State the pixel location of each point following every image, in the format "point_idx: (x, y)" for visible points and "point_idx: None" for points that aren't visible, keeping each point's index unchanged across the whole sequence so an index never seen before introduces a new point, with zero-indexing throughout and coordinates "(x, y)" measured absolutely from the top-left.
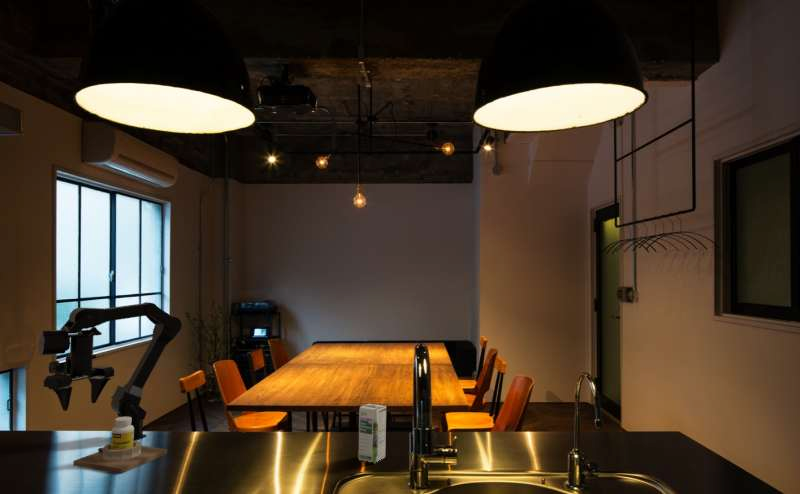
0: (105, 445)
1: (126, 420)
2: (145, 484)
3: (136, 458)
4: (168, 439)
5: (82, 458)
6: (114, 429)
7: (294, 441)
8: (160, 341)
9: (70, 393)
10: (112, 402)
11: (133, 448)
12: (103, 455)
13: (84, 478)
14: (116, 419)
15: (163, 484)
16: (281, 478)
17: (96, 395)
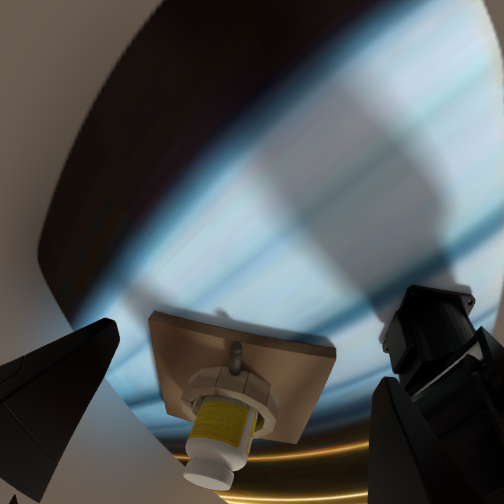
0: (211, 387)
1: (198, 484)
2: (160, 434)
3: None
4: None
5: (172, 330)
6: (186, 450)
7: None
8: None
9: (52, 460)
10: (461, 402)
11: None
12: (191, 380)
13: (123, 365)
14: (187, 475)
15: (172, 447)
16: (242, 499)
17: (371, 461)
